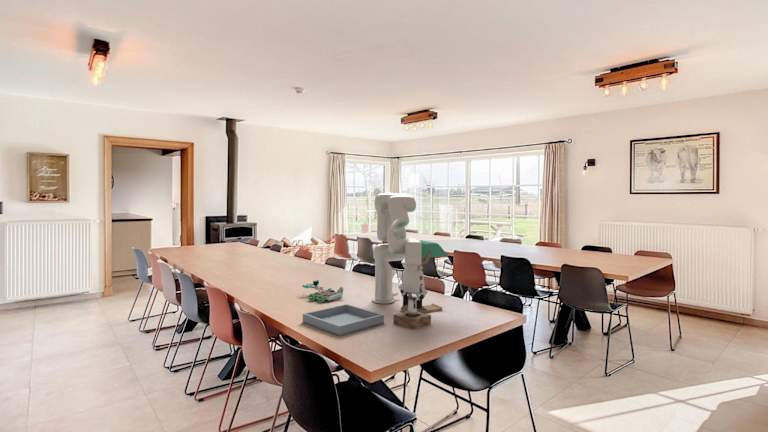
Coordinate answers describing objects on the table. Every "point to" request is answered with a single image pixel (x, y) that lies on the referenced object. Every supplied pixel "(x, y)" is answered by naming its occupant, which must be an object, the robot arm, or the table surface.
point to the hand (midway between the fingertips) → (412, 306)
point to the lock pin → (412, 306)
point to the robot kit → (323, 292)
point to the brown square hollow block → (412, 320)
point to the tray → (343, 319)
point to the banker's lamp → (427, 251)
